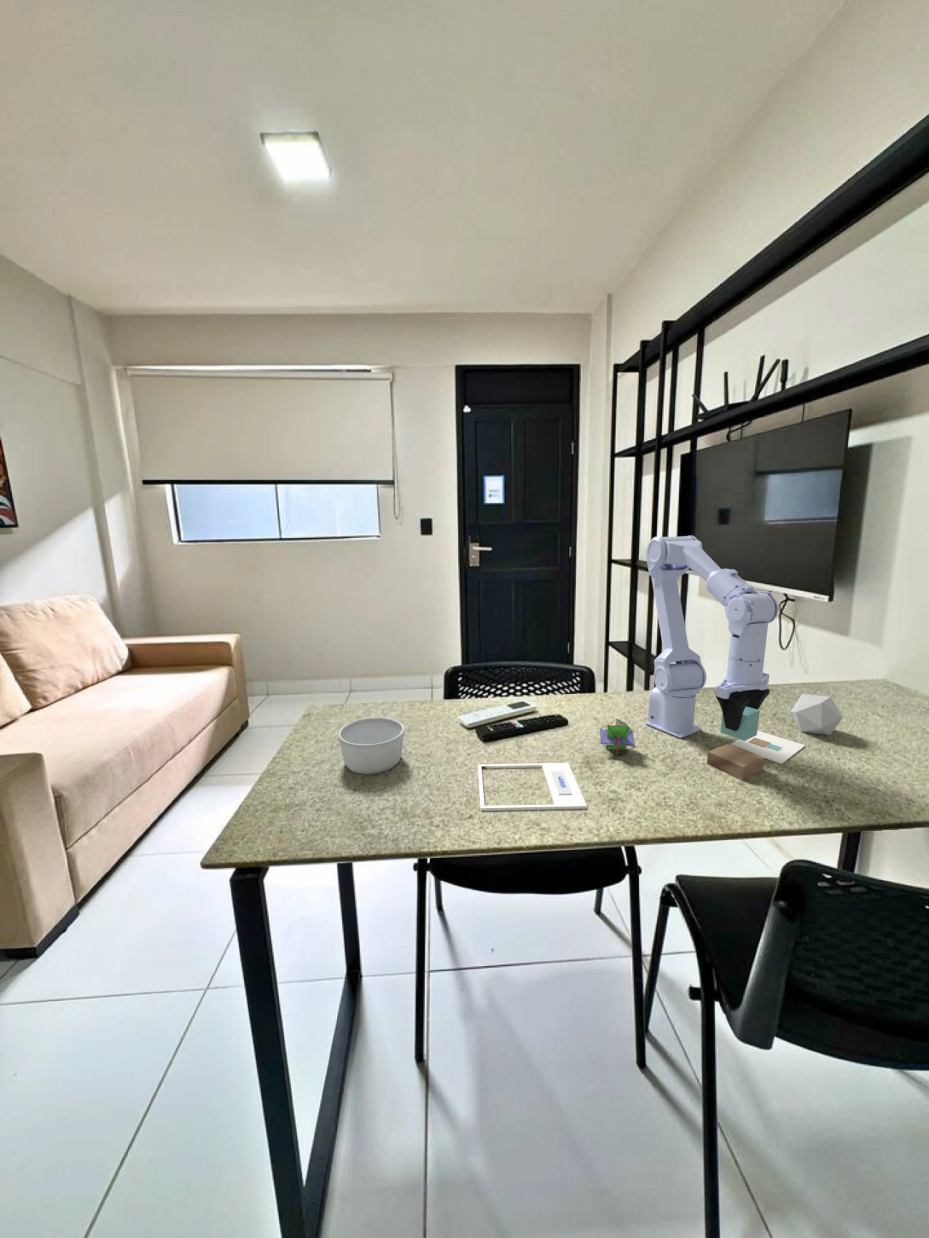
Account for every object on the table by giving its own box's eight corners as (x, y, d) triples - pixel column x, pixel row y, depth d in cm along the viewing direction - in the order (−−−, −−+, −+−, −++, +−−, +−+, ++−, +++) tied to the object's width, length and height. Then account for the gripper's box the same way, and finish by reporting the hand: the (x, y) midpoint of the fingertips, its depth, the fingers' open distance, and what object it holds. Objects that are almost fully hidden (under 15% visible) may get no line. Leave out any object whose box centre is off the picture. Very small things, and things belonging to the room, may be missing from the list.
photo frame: (587, 804, 81) (480, 807, 81) (586, 810, 81) (480, 813, 81) (568, 761, 96) (477, 763, 95) (568, 767, 96) (477, 768, 96)
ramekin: (415, 750, 103) (414, 719, 102) (389, 782, 91) (387, 748, 89) (359, 743, 107) (357, 714, 105) (327, 773, 94) (324, 740, 93)
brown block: (706, 765, 95) (707, 751, 94) (728, 756, 98) (729, 743, 98) (741, 781, 89) (743, 767, 88) (763, 771, 92) (764, 757, 92)
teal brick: (720, 732, 93) (723, 708, 92) (733, 726, 95) (735, 703, 94) (744, 741, 89) (747, 715, 88) (756, 735, 92) (759, 710, 90)
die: (834, 729, 110) (807, 689, 113) (860, 726, 102) (831, 683, 105) (800, 744, 110) (775, 703, 113) (824, 742, 101) (796, 698, 105)
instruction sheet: (728, 745, 102) (729, 744, 102) (754, 730, 109) (754, 729, 109) (781, 764, 94) (781, 762, 94) (805, 746, 101) (805, 744, 101)
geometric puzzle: (637, 755, 94) (636, 715, 98) (601, 752, 96) (601, 713, 99) (632, 761, 101) (631, 723, 104) (598, 758, 102) (598, 721, 106)
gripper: (746, 669, 82) (739, 743, 85) (789, 655, 89) (780, 723, 92) (707, 660, 88) (701, 729, 91) (750, 647, 95) (743, 711, 98)
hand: (739, 725), depth 92 cm, fingers closed on teal brick, 4 cm apart
